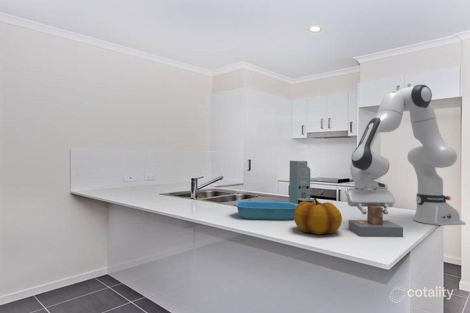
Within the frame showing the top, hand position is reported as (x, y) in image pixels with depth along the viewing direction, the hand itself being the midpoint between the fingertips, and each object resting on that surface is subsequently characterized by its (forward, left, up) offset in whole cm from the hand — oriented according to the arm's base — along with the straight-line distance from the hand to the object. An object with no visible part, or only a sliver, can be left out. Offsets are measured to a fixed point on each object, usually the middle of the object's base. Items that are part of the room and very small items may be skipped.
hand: (375, 213), depth 135 cm
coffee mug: (+23, -30, -9) cm, 39 cm away
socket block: (0, 0, -8) cm, 8 cm away
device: (+23, -50, -9) cm, 56 cm away
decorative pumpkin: (+25, -1, -9) cm, 27 cm away
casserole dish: (+44, -33, -9) cm, 56 cm away
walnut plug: (0, 0, -8) cm, 8 cm away
